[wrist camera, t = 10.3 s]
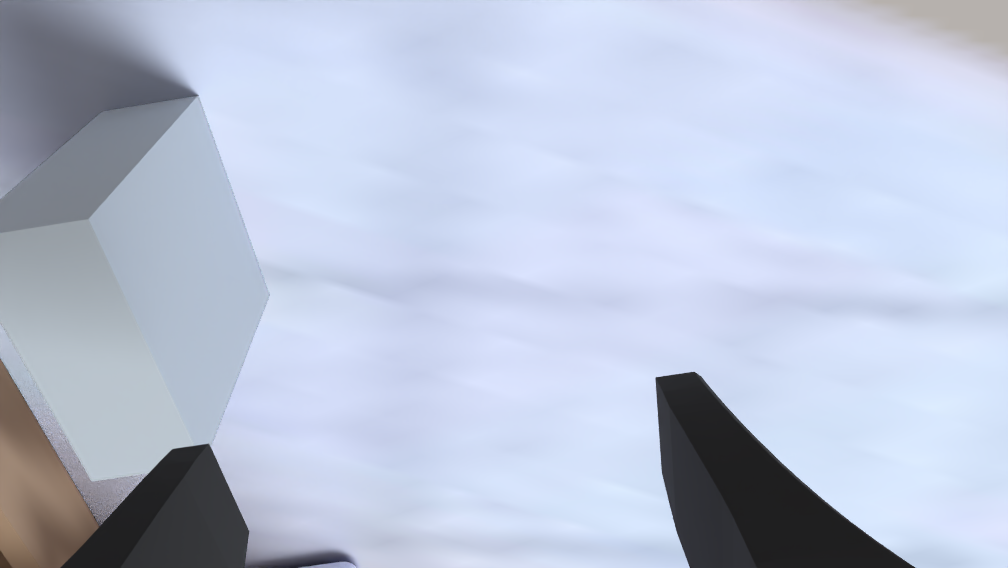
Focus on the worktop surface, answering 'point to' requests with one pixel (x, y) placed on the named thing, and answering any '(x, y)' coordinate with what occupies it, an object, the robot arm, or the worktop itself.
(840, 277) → the worktop surface
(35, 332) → the pale grey rectangular prism
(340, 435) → the worktop surface
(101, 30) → the worktop surface
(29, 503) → the frame
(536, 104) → the worktop surface
